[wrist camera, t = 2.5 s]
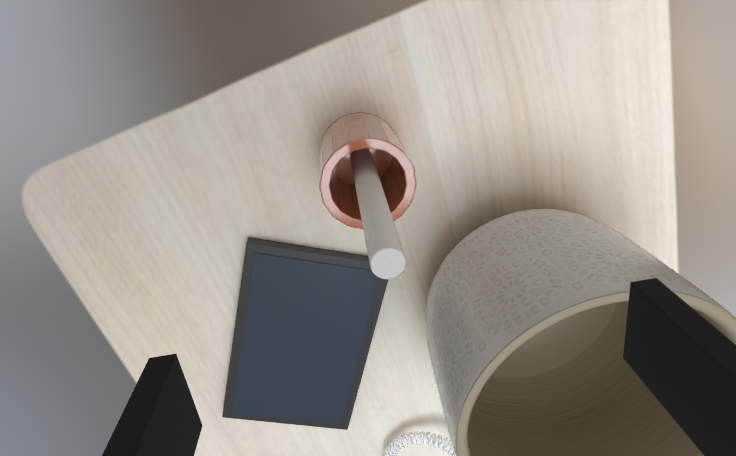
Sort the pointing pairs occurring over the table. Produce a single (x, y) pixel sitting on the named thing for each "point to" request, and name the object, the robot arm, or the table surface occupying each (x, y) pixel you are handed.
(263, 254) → the tablet
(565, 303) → the planter
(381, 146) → the cup
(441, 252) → the table surface
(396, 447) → the telephone
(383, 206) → the stylus
